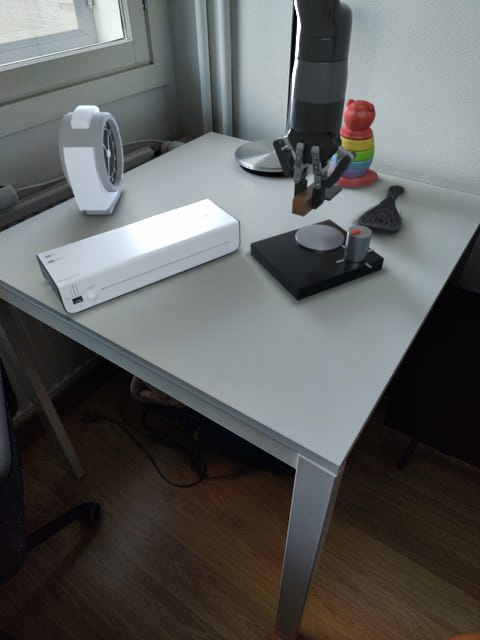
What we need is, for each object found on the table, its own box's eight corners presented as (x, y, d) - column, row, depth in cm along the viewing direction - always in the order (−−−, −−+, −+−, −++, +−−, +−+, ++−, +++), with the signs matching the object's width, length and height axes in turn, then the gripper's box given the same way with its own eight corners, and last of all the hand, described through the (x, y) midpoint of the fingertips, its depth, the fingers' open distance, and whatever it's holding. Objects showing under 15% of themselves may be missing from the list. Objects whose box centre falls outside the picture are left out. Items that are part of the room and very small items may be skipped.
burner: (324, 222, 91) (325, 220, 91) (354, 243, 85) (354, 241, 85) (286, 233, 88) (286, 232, 87) (313, 256, 82) (313, 255, 82)
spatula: (319, 183, 82) (321, 169, 81) (342, 190, 80) (344, 175, 79) (285, 211, 75) (286, 196, 73) (309, 218, 73) (311, 203, 71)
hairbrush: (419, 180, 103) (396, 227, 86) (415, 195, 106) (392, 244, 88) (382, 174, 106) (353, 218, 89) (379, 189, 108) (350, 235, 91)
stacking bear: (381, 178, 111) (396, 99, 99) (357, 193, 105) (370, 111, 93) (343, 166, 116) (353, 90, 105) (319, 179, 111) (327, 100, 99)
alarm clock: (114, 222, 97) (92, 123, 84) (74, 223, 97) (45, 124, 84) (131, 185, 110) (114, 94, 97) (96, 185, 111) (74, 94, 97)
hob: (328, 229, 93) (330, 218, 92) (386, 272, 82) (389, 260, 80) (250, 254, 87) (250, 242, 85) (301, 304, 76) (302, 292, 74)
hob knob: (357, 247, 84) (361, 221, 80) (371, 258, 81) (377, 232, 78) (339, 253, 82) (343, 227, 79) (353, 264, 80) (358, 238, 76)
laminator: (210, 225, 95) (208, 198, 91) (244, 252, 88) (243, 223, 84) (45, 283, 81) (34, 253, 77) (69, 321, 74) (58, 290, 69)
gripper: (375, 93, 64) (356, 207, 75) (289, 79, 70) (283, 186, 81) (353, 108, 59) (336, 226, 71) (262, 91, 65) (260, 203, 77)
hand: (308, 204), depth 76 cm, fingers closed on spatula, 2 cm apart
